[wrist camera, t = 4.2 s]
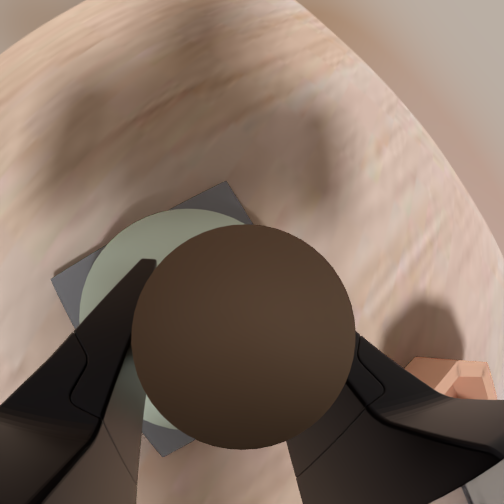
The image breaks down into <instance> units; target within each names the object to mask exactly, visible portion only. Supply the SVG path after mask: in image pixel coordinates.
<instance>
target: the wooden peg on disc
mask: <svg viewBox="0 0 504 504" xmlns="http://www.w3.org/2000/svg"><path fill="white" fill-rule="evenodd" d="M142 258H147V259H156V261H157V267H156V268H155V270H154V271H153V273H152V274H151V276H150V277H149V279H148V280H147V282H146V283H145V286H144V288H143V290H142V292H141V294H140V296H139V299H138V302H137V305H136V308H135V312H134V317H133V323H132V337H131V345H132V354H133V361H134V365H135V368H136V372H137V375H138V378H139V380H140V383H141V385H142V387H143V389H144V391H145V393H146V400H145V408H144V416H143V419H144V420H146V421H148V422H150V423H153V424H155V425H159V426H162V427H166V428H169V429H176V430H180V431H182V432H183V433H185V434H186V435H188V436H190V437H192V438H194V439H196V440H198V441H200V442H203V443H206V444H209V445H212V446H216V447H221V448H227V449H239V450H246V449H258V448H263V447H268V446H272V445H275V444H278V443H281V442H284V441H287V440H289V439H291V438H293V437H295V436H297V435H299V434H300V433H302V432H303V431H305V430H306V429H308V428H309V427H311V426H312V425H313V424H314V423H315V422H316V421H318V420H319V419H320V418H321V417H322V416H323V415H324V414H325V413H326V412H327V410H328V409H329V408H330V407H331V406H332V404H333V403H334V401H335V400H336V399H337V397H338V396H339V394H340V392H341V390H342V388H343V387H344V385H345V382H346V380H347V377H348V375H349V372H350V369H351V365H352V361H353V357H354V350H355V321H354V315H353V310H352V306H351V303H350V300H349V297H348V294H347V291H346V289H345V287H344V285H343V283H342V281H341V279H340V278H339V276H338V275H337V273H336V272H335V270H334V269H333V267H332V266H331V265H330V264H329V263H328V262H327V261H326V259H325V258H324V257H323V256H322V255H321V254H319V253H318V252H317V251H316V250H315V249H314V248H313V247H311V246H310V245H308V244H307V243H305V242H304V241H303V240H301V239H299V238H297V237H295V236H293V235H291V234H289V233H286V232H284V231H281V230H278V229H275V228H271V227H266V226H261V225H250V224H244V223H242V222H240V221H238V220H236V219H234V218H232V217H229V216H226V215H224V214H221V213H217V212H213V211H208V210H201V209H175V210H169V211H163V212H160V213H156V214H153V215H150V216H147V217H145V218H143V219H141V220H139V221H137V222H135V223H133V224H132V225H130V226H129V227H127V228H125V229H124V230H122V231H121V232H120V233H119V234H118V235H117V236H115V237H114V238H113V239H112V240H111V241H110V242H109V243H108V244H107V246H106V247H105V248H104V249H103V250H102V251H101V253H100V254H99V256H98V257H97V259H96V260H95V262H94V263H93V265H92V268H91V270H90V272H89V274H88V276H87V279H86V282H85V285H84V288H83V291H82V296H81V302H80V314H79V323H81V322H82V321H83V320H84V319H85V318H86V317H87V316H88V314H89V313H90V312H91V311H92V310H93V309H94V308H95V307H96V306H97V305H98V304H99V302H100V301H101V300H102V299H103V298H104V297H105V296H106V295H107V294H108V293H109V292H110V291H111V290H112V289H113V287H114V286H115V285H116V284H117V283H118V282H119V281H120V280H121V279H122V278H123V277H124V276H125V275H126V274H127V273H128V272H129V271H130V270H131V269H132V268H133V267H134V266H135V265H136V264H137V263H138V262H139V261H140V260H141V259H142Z"/></svg>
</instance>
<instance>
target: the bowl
mask: <svg viewBox="0 0 504 504" xmlns="http://www.w3.org/2000/svg"><path fill="white" fill-rule="evenodd" d="M404 369H405V370H407V371H408V372H410V373H411V374H413V375H414V376H415V377H417V378H418V379H420V380H421V381H423V382H424V383H426V384H427V385H428V386H430V387H431V388H433V389H434V390H436V391H438V392H439V393H441V394H444V395H446V396H449V397H453V398H460V399H481V400H497V395H496V391H495V387H494V384H493V380H492V376H491V373H490V369H489V366H488V363H487V362H477V361H464V360H451V359H438V358H426V357H415V358H414V359H413V360H412V361H411V362H410V363H409V364H408V365H407V366H406V367H405V368H404Z"/></svg>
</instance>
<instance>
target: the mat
mask: <svg viewBox="0 0 504 504" xmlns="http://www.w3.org/2000/svg"><path fill="white" fill-rule="evenodd" d="M175 209H201V210H208V211H213V212H217V213H221V214H224V215H226V216H229V217H232V218H234V219H236V220H238V221H240V222H242V223H244V224H250V225H253V223H252V222H251V220H250V218H249V217H248V215H247V214H246V212H245V210H244V209H243V207H242V205H241V204H240V202H239V201H238V199H237V197H236V196H235V194H234V193H233V191H232V189H231V188H230V186H229V185H228V183H227V181H224V182H222V183H220V184H218V185H216V186H214V187H212V188H210V189H208V190H206V191H204V192H202V193H200V194H199V195H197V196H195V197H193V198H191V199H189V200H187V201H185V202H183V203H181V204H179V205H177V206H175V207H174V208H172V209H170V210H175ZM168 211H169V210H168ZM106 246H107V245H105V246H104V247H102V248H100V249H99V250H97V251H95V252H94V253H92V254H90V255H89V256H87V257H85V258H84V259H82V260H80V261H79V262H77V263H76V264H74V265H72V266H71V267H69V268H68V269H66V270H64V271H63V272H61V273H60V274H58V275H56V276H55V277H53V278H52V279H51V281H52V283H53V286H54V288H55V290H56V292H57V294H58V296H59V298H60V300H61V302H62V304H63V307H64V309H65V310H66V312H67V314H68V316H69V318H70V320H71V322H72V324H73V326H74V328H75V329H76V328H77V327H78V326H79V324H80V323H79V314H80V302H81V296H82V291H83V288H84V285H85V282H86V279H87V276H88V274H89V272H90V270H91V268H92V265H93V263H94V262H95V260H96V259H97V257H98V256H99V254H100V253H101V251H102V250H103V249H104V248H105V247H106ZM142 432H143V434H144V435H145V436H146V438H147V439H148V440H149V441H150V443H151V444H152V445H153V446H154V448H155V449H156V450H157V451H158V452H159V454H160V455H161V456H162V457H165V456H167V455H168V454H170V453H172V452H174V451H176V450H178V449H179V448H181V447H183V446H185V445H187V444H188V443H190V442H192V441H194V440H195V439H194V438H192V437H190V436H188V435H186V434H185V433H183V432H182V431H180V430H176V429H169V428H166V427H162V426H159V425H155V424H153V423H150V422H148V421H146V420H144V419H143V425H142Z"/></svg>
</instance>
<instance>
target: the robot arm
mask: <svg viewBox="0 0 504 504" xmlns="http://www.w3.org/2000/svg"><path fill="white" fill-rule="evenodd" d="M156 267H157V261H156V259H147V258H142V259H141V260H140V261H139V262H138V263H137V264H136V265H135V266H134V267H133V268H132V269H131V270H130V271H129V272H128V273H127V274H126V275H125V276H124V277H123V278H122V279H121V280H120V281H119V282H118V283H117V284H116V285H115V286H114V287H113V289H112V290H111V291H110V292H109V293H108V294H107V295H106V296H105V297H104V298H103V299H102V300H101V301H100V302H99V304H98V305H97V306H96V307H95V308H94V309H93V310H92V311H91V312H90V313H89V314H88V316H87V317H86V318H85V319H84V320H83V321H82V322H81V323H80V324H79V326H78V327H77V328H76V329H75V330H74V333H71V334H70V336H69V337H68V338H67V339H66V340H65V341H64V342H63V344H62V345H61V346H60V347H59V348H58V349H57V350H56V351H55V352H54V353H53V355H52V356H51V357H50V358H49V359H48V360H47V361H46V362H45V363H43V364H42V365H41V366H40V367H39V368H38V369H37V370H36V371H35V372H34V373H33V374H32V375H31V376H30V377H29V378H28V379H27V380H26V381H25V382H24V383H23V384H22V385H21V386H20V387H19V388H18V389H17V390H16V391H15V392H14V393H12V394H11V395H10V396H9V397H8V398H7V399H6V400H5V401H4V402H3V403H2V404H1V405H0V504H136V497H137V480H138V466H139V455H140V444H141V434H142V425H143V416H144V408H145V400H146V393H145V391H144V389H143V387H142V385H141V383H140V380H139V378H138V375H137V372H136V368H135V365H134V361H133V354H132V345H131V337H132V323H133V317H134V312H135V308H136V305H137V302H138V299H139V296H140V294H141V292H142V290H143V288H144V286H145V283H146V282H147V280H148V279H149V277H150V276H151V274H152V273H153V271H154V270H155V268H156ZM286 442H287V446H288V450H289V453H290V457H291V461H292V465H293V468H294V472H295V476H296V477H297V478H296V480H297V484H298V487H299V491H300V495H301V498H302V502H303V504H504V400H481V399H460V398H453V397H449V396H446V395H444V394H441V393H439V392H438V391H436V390H434V389H433V388H431V387H430V386H428V385H427V384H426V383H424V382H423V381H421V380H420V379H418V378H417V377H415V376H414V375H413V374H411V373H410V372H408V371H407V370H405V369H404V368H403V367H401V366H400V365H398V364H397V363H396V362H394V361H393V360H391V359H390V358H389V357H387V356H386V355H385V354H383V353H382V352H381V351H380V350H378V349H377V348H376V347H375V346H373V345H372V344H371V343H370V342H368V341H367V340H366V339H365V338H364V337H362V336H360V334H359V333H357V332H356V331H355V350H354V357H353V361H352V365H351V369H350V372H349V375H348V377H347V380H346V382H345V385H344V387H343V388H342V390H341V392H340V394H339V396H338V397H337V399H336V400H335V401H334V403H333V404H332V406H331V407H330V408H329V409H328V410H327V412H326V413H325V414H324V415H323V416H322V417H321V418H320V419H319V420H318V421H316V422H315V423H314V424H313V425H312V426H311V427H309V428H308V429H306V430H305V431H303V432H302V433H300V434H299V435H297V436H295V437H293V438H291V439H289V440H287V441H286Z"/></svg>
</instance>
